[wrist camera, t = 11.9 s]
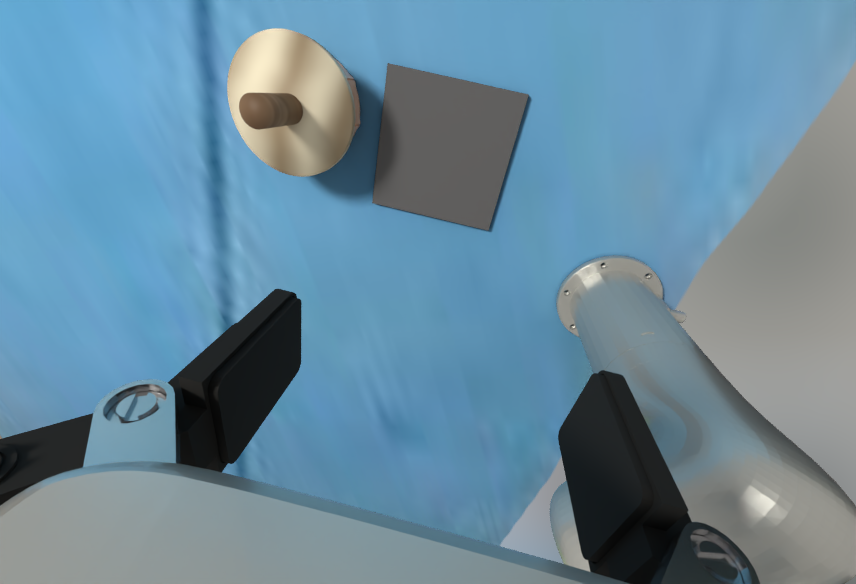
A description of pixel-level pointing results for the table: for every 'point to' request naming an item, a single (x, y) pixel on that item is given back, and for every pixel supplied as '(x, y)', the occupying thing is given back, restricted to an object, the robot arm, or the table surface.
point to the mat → (444, 145)
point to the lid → (291, 102)
